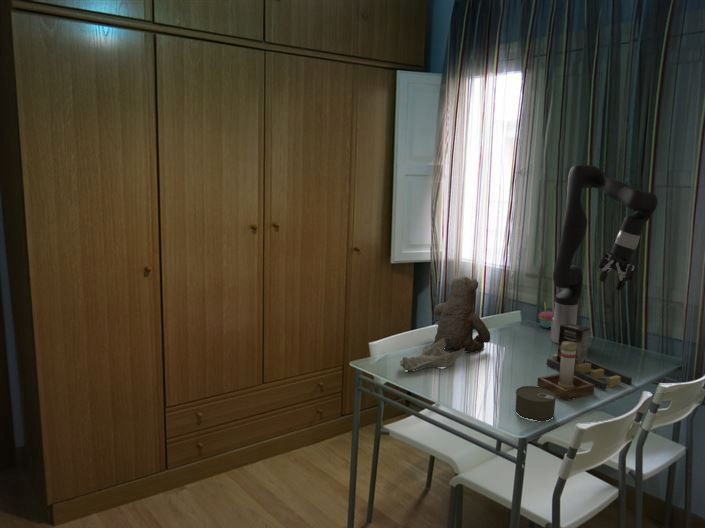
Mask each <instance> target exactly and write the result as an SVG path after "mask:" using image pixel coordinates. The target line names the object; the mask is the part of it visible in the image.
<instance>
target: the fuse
mask: <svg viewBox="0 0 705 528" xmlns="http://www.w3.org/2000/svg"><path fill="white" fill-rule="evenodd" d="M576 348H577V344H576V343H574V342H570V341H564V342H562V347H561V349H562V350H561V362H560V371H559V373H560V374H559V382H558V386H560V387H562V388H564V389H570V388H573V378H574V367H575V357H576Z"/></svg>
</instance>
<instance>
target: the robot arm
mask: <svg viewBox="0 0 705 528" xmlns="http://www.w3.org/2000/svg"><path fill="white" fill-rule="evenodd" d="M592 188H593V189H598V190H601V191H603V192H604V194H605V195H607V197H608V198H610V199H612V200H615V201H616V202H618V203H620V204H622V205H624V206H625V207H626V208H628V209H631V210H634V211H635V212H634V213H633V214H632V215H631V214H630V215H627V216H625V217H624V219H623V221H622V224H621V227H620V229H619V231H618V233H617V235H616V238H615V241H614V243H613V246H612V248H611V251H610V252H611V253H610V254H609V253H604V254H603V256H602V258H601V260H600V263H599V265H598V268H599V269H601V274H600V276H599V281H600V282H601V283H605V282H606V280H607V278H608V274H609V272H610V271H612V270H613V271H615V272H617V275H618V276H619V280H618V282H617V284H616V288H615V290H616V291H619V292H620V291H622V290H623V289H624V287H625V285H626V283H627V282H632V280H633V277H634V275H635V272H636V269H637V266H636V265H633V264H630V263H631V260H633V258H634V256H635V253H636V250H637V247H638V244H639V242H640V237H641V235H642V231H643V229H644V227H645V225H646V224H647V222H648V221H649V219H650V218H651V217H652V215H653V214H654V212H655V210H656V209H657V205H658V197H657V196H656V194H654V193H653V192H648V191H644V190H639V189H637V188H635V187H633V186H632V185H631V184H629V183H626V182H623V181H621V180H619V179H616V178H614V177H612V176H611V175H609V174H607V173H606V172H605V171H603V170H601V169H600V168H599V167H597V166H595V165H592V164H575V165H573V166H572V167H571V168H570V170H569V173H568V177H567V189H566V192H567V193H566V204H565V212H564V217H563V223H562V229H561V235H560V243H559V248H558V253H557V257H556V260H555V261H556V262H555V265H554V268H553V273H552V280H553V284H554V285H555V287H557V288H559V289H562V290H561V291H559V292H558V293H557V294H556V295H555V298H554V308H553V309H554V310H553V313H554V318H552V323H551V328H550V337H549V338H550V340H551V341H552V342H553V343H555V344H558V343H559V332H560V325H562V324H566V323H571V324H575V325H577V319H578V307H579V306H578V305H579V300H580V298H581V294H582V291H583V283H584V281H583V280H584V276H583V275H584V273H583V271H582V269H581V267H580V266H578V265H575V264H573V265H572V263H573V262H572V261H573V259H574V255H575V254H576V252H577V250H578V249H579V248H580V246H581V245H582V243H583V241H584V240H585V237H586V233H587V227H588V218H587V217H588V216H587V215H586V212H585V210H584V207H583V204H582V192H583V189H592Z"/></svg>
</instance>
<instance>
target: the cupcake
mask: <svg viewBox="0 0 705 528" xmlns="http://www.w3.org/2000/svg"><path fill="white" fill-rule="evenodd" d="M543 304H544V311H541V312H539V314H538V315H537V316H538V319H539V321H540V324H541V327H543V328H546V329H550V328H549V327H551V323H552V318H554V311H553V312H552V311H549V310H548V311H547V305H546V300H544V301H543Z"/></svg>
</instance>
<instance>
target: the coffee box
mask: <svg viewBox="0 0 705 528" xmlns="http://www.w3.org/2000/svg"><path fill="white" fill-rule="evenodd" d="M590 329H591V328H590V327H588V326H587V327H586V326H582V325H578V324H576V325H575V324H571V323H566V324H562V325H560V332H559V343H557V345H558V346H557V353H556V354H557V362H559V363H560V362H561V350H562V349H561V347H562V342H564V341H570V342H574V343H576V344H577V348H576V357H575V367H574V369H576V365H579V364H584V363H586V359H587V357H588V348H589V347H588V346H589V337H590Z"/></svg>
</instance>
